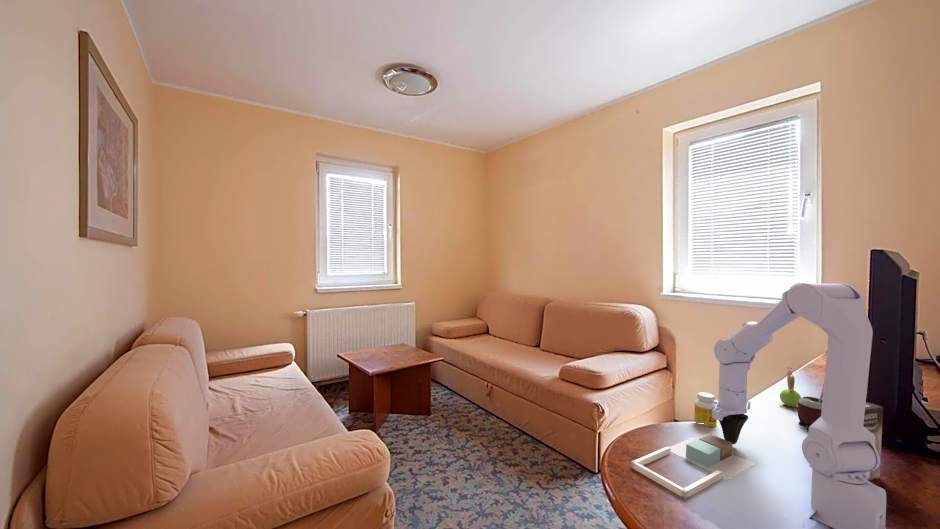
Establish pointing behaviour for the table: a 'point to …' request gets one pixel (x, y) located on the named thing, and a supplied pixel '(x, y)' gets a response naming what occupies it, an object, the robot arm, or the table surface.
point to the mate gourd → (809, 409)
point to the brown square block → (719, 445)
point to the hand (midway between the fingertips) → (730, 442)
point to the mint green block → (703, 453)
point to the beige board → (726, 466)
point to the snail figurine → (790, 392)
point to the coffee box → (874, 429)
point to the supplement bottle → (705, 409)
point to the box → (667, 483)
